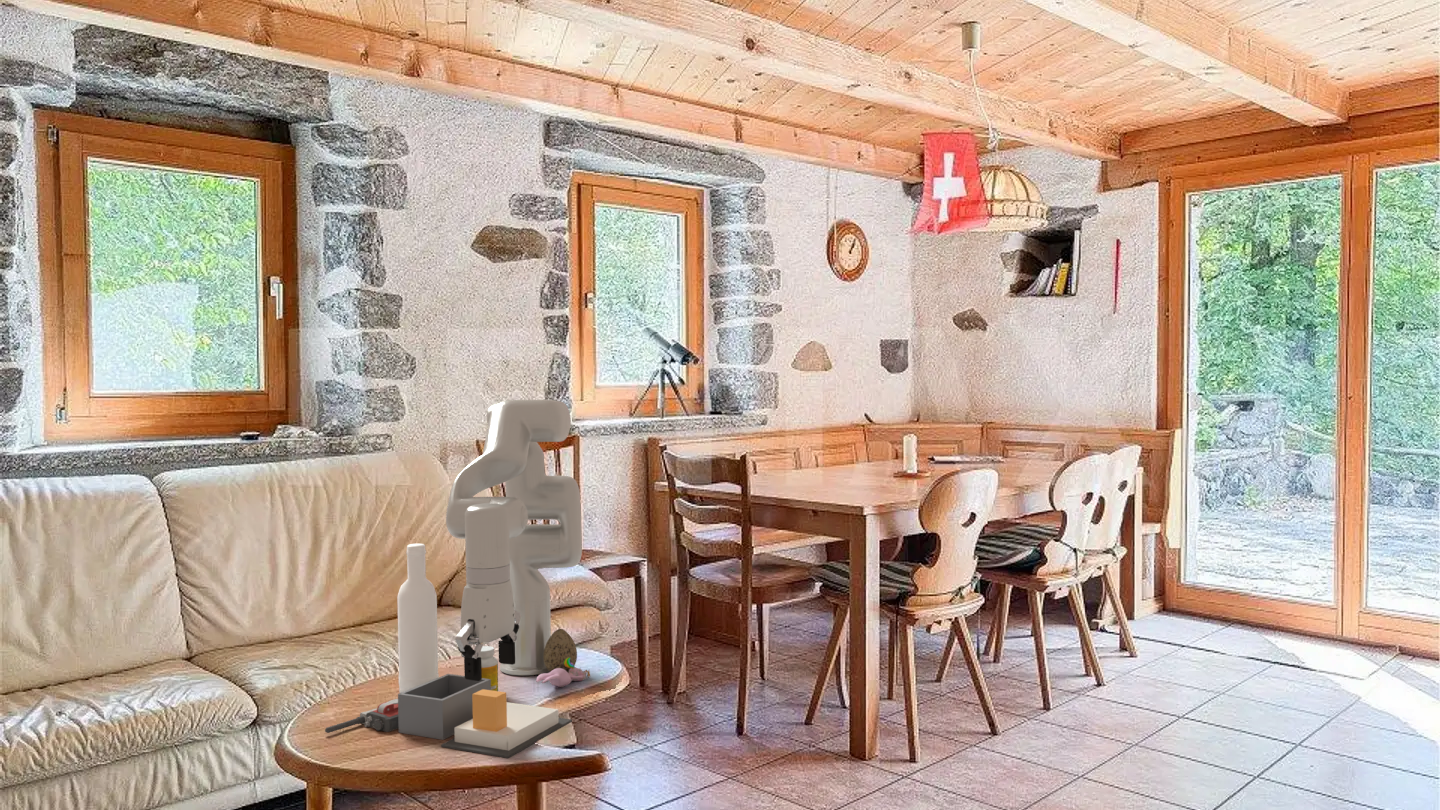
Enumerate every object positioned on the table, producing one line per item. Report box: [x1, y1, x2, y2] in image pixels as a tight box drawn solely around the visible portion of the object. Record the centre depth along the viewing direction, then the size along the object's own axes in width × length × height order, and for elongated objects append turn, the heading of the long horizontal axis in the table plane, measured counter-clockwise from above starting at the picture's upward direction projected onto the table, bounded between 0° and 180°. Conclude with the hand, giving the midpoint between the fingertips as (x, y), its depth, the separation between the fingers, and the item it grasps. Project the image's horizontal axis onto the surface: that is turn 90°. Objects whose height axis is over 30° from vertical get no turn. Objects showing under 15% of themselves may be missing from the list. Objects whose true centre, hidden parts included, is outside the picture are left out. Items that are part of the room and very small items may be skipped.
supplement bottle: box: [478, 645, 499, 691], centre depth 211 cm, size 5×5×10 cm
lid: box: [454, 689, 560, 751], centre depth 188 cm, size 15×11×8 cm
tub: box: [397, 673, 491, 741], centre depth 194 cm, size 14×10×7 cm
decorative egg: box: [543, 628, 578, 673], centre depth 224 cm, size 7×7×10 cm
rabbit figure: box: [535, 657, 591, 688], centre depth 217 cm, size 6×6×15 cm
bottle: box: [397, 543, 440, 694], centre depth 215 cm, size 8×8×30 cm
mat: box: [440, 717, 573, 759], centre depth 188 cm, size 20×14×1 cm
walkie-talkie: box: [324, 698, 399, 734], centre depth 194 cm, size 9×4×20 cm
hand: (490, 671), depth 184 cm, fingers open, 9 cm apart
